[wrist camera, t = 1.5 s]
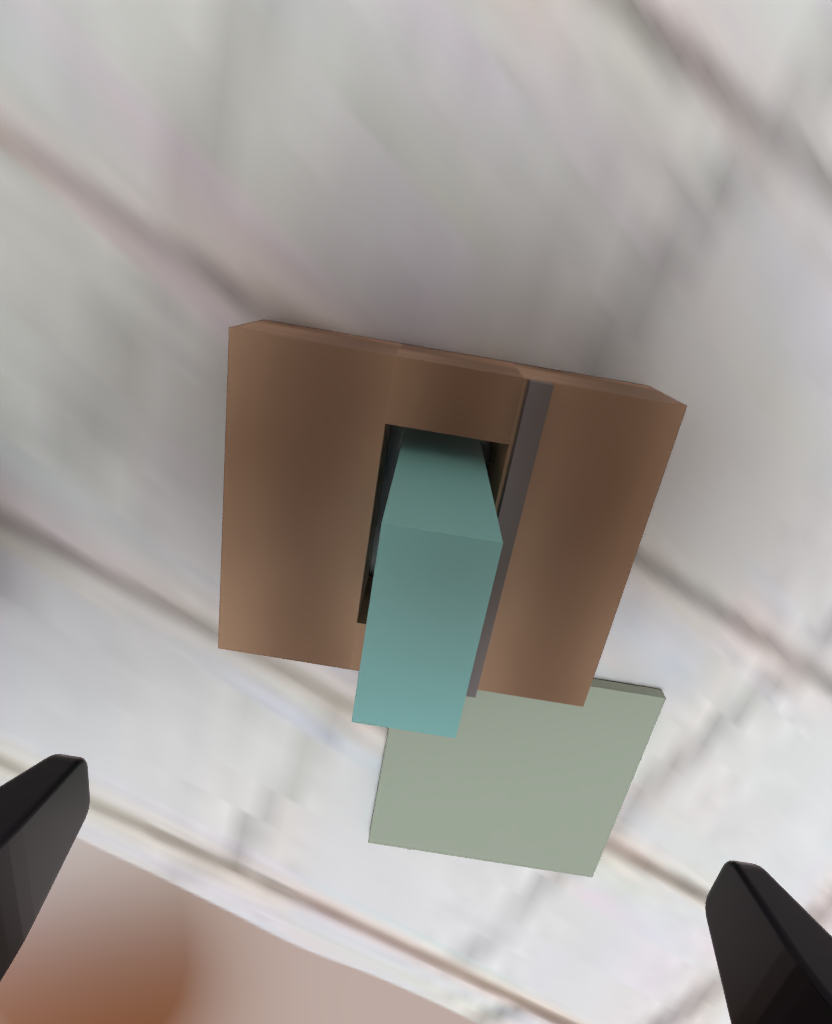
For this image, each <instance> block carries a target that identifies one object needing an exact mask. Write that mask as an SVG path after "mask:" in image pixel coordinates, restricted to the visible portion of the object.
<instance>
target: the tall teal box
mask: <svg viewBox="0 0 832 1024" xmlns="http://www.w3.org/2000/svg"><path fill="white" fill-rule="evenodd" d="M502 546H503V540H502V536H501V531H500V527H499V522H498V518H497V514H496V509H495V505H494V500H493V496H492V491H491V487H490V482H489V478H488V474H487V469H486V465H485V460H484V456H483V451H482V447H481V442H480V440H479V439H473V438H467V437H461V436H455V435H449V434H443V433H437V432H432V431H426V430H420V429H414V428H408V427H406V429H405V433H404V436H403V440H402V444H401V448H400V452H399V456H398V460H397V464H396V468H395V472H394V476H393V480H392V484H391V488H390V492H389V496H388V500H387V504H386V507H385V511H384V515H383V519H382V523H381V530H380V537H379V543H378V550H377V557H376V563H375V570H374V577H373V583H372V590H371V597H370V603H369V610H368V616H367V623H366V630H365V636H364V643H363V650H362V656H361V663H360V670H359V676H358V683H357V690H356V696H355V703H354V709H353V716H352V722H356V723H362V724H368V725H375V726H381V727H387V728H394V729H400V730H406V731H413V732H419V733H425V734H431V735H438V736H444V737H450V738H456V735H457V731H458V727H459V722H460V718H461V714H462V710H463V706H464V702H465V698H466V694H467V690H468V685H469V681H470V677H471V673H472V669H473V665H474V661H475V657H476V653H477V648H478V644H479V640H480V636H481V632H482V628H483V624H484V620H485V616H486V611H487V607H488V603H489V599H490V595H491V591H492V587H493V583H494V579H495V574H496V570H497V566H498V562H499V558H500V554H501V550H502Z"/></svg>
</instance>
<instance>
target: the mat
mask: <svg viewBox="0 0 832 1024" xmlns="http://www.w3.org/2000/svg"><path fill="white" fill-rule="evenodd" d="M665 699H666V698H665V696H664V694H663V692H662V690H661V689H654V688H648V687H642V686H636V685H630V684H623V683H617V682H611V681H605V680H599V679H593V680H592V683H591V686H590V689H589V692H588V695H587V698H586V701H585V704H584V707H581V706H575V705H568V704H562V703H556V702H550V701H544V700H537V699H531V698H525V697H519V696H512V695H506V694H500V693H494V692H488V691H481V690H477V693H476V697H475V698H474V697H467V696H466V698H465V702H464V706H463V710H462V714H461V718H460V722H459V727H458V731H457V735H456V738H450V737H444V736H438V735H431V734H425V733H419V732H413V731H406V730H400V729H394V728H389V729H388V734H387V740H386V745H385V751H384V756H383V761H382V767H381V772H380V778H379V783H378V789H377V794H376V800H375V805H374V811H373V816H372V821H371V827H370V832H369V840H368V843H374V844H381V845H387V846H394V847H400V848H407V849H413V850H420V851H426V852H432V853H439V854H445V855H452V856H458V857H465V858H471V859H478V860H484V861H491V862H497V863H503V864H510V865H516V866H523V867H529V868H536V869H542V870H549V871H555V872H561V873H568V874H574V875H581V876H587V877H593V874H594V872H595V869H596V867H597V865H598V862H599V860H600V857H601V855H602V852H603V850H604V848H605V845H606V843H607V840H608V838H609V835H610V833H611V831H612V828H613V826H614V823H615V821H616V818H617V816H618V814H619V811H620V809H621V806H622V804H623V801H624V799H625V797H626V794H627V792H628V789H629V787H630V784H631V782H632V780H633V777H634V775H635V772H636V770H637V767H638V765H639V763H640V760H641V758H642V755H643V753H644V750H645V748H646V745H647V743H648V741H649V738H650V736H651V733H652V731H653V728H654V726H655V724H656V721H657V719H658V716H659V714H660V711H661V709H662V707H663V704H664V702H665Z"/></svg>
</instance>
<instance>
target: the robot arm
mask: <svg viewBox="0 0 832 1024" xmlns="http://www.w3.org/2000/svg"><path fill="white" fill-rule="evenodd" d="M89 804H90V793H89V779H88V766H87V762H86V761H85V760H84V758H81V757H75V756H69V755H63V754H55V755H52V756H49V757H48V758H46V759H44V760H43V761H41V762H39V763H38V764H36V765H34V766H33V767H31V768H30V769H28V770H26V771H25V772H23V773H22V774H20V775H18V776H17V777H15V778H13V779H12V780H10V781H9V782H7V783H5V784H4V785H2V786H1V787H0V981H1V979H2V978H3V976H4V975H5V973H6V971H7V970H8V968H9V966H10V965H11V963H12V961H13V960H14V958H15V956H16V954H17V953H18V951H19V949H20V948H21V946H22V944H23V942H24V941H25V939H26V937H27V935H28V933H29V931H30V929H31V927H32V925H33V923H34V921H35V919H36V917H37V915H38V913H39V911H40V909H41V907H42V905H43V903H44V901H45V899H46V897H47V895H48V893H49V891H50V889H51V887H52V885H53V883H54V881H55V879H56V877H57V875H58V873H59V870H60V869H61V867H62V865H63V863H64V861H65V859H66V856H67V854H68V853H69V851H70V848H71V846H72V844H73V842H74V840H75V838H76V836H77V834H78V832H79V830H80V828H81V826H82V824H83V822H84V820H85V818H86V815H87V813H88V809H89ZM705 909H706V918H707V922H708V926H709V931H710V935H711V939H712V943H713V948H714V952H715V956H716V961H717V965H718V969H719V973H720V978H721V982H722V986H723V990H724V995H725V999H726V1003H727V1007H728V1012H729V1016H730V1020H731V1024H832V936H831V935H830V934H829V933H828V932H827V931H826V930H825V929H824V928H823V927H822V926H821V925H820V924H819V923H818V922H817V921H816V920H815V919H814V918H813V917H812V916H811V915H810V914H809V913H808V912H807V911H806V910H805V909H804V908H803V907H802V906H801V905H800V904H799V903H798V902H797V901H796V900H795V899H793V898H792V897H791V896H790V895H789V894H788V893H787V892H786V891H785V890H784V889H783V888H782V887H781V886H780V885H779V884H778V883H777V882H776V881H775V880H774V879H773V878H772V877H771V876H770V875H769V874H768V873H767V872H766V871H765V870H764V869H763V868H761V867H760V866H758V865H756V864H752V863H746V862H739V861H729V862H727V863H725V864H724V866H723V867H722V869H721V871H720V873H719V875H718V877H717V879H716V880H715V882H714V884H713V886H712V888H711V890H710V891H709V893H708V895H707V899H706V906H705Z"/></svg>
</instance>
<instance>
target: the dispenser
mask: <svg viewBox="0 0 832 1024" xmlns="http://www.w3.org/2000/svg"><path fill="white" fill-rule="evenodd" d="M686 408H687V406H686V405H684V404H682V403H680V402H679V401H677V400H675V399H673V398H671V397H669V396H667V395H665V394H663V393H661V392H659V391H658V390H656V389H654V388H652V387H650V386H646V385H640V384H635V383H629V382H623V381H617V380H611V379H605V378H600V377H594V376H588V375H582V374H576V373H571V372H565V371H559V370H553V369H547V368H541V367H536V366H530V365H524V364H518V363H512V362H507V361H501V360H495V359H489V358H483V357H478V356H472V355H466V354H460V353H454V352H448V351H443V350H437V349H431V348H425V347H419V346H414V345H408V344H402V343H396V342H390V341H384V340H379V339H373V338H367V337H361V336H355V335H350V334H344V333H338V332H332V331H326V330H320V329H315V328H309V327H303V326H297V325H291V324H286V323H280V322H274V321H268V320H260V321H255V322H251V323H246V324H242V325H238V326H233V327H229V347H228V376H227V405H226V434H225V464H224V493H223V522H222V552H221V581H220V610H219V639H218V648H220V649H226V650H233V651H239V652H245V653H251V654H257V655H264V656H270V657H276V658H282V659H289V660H295V661H301V662H307V663H313V664H320V665H326V666H332V667H338V668H345V669H351V670H357V671H359V670H360V663H361V656H362V650H363V643H364V636H365V630H366V623H367V616H368V610H369V603H370V597H371V590H372V583H373V577H368V576H369V569H370V563H371V556H372V549H373V542H374V535H375V528H376V522H377V515H378V508H379V501H380V494H381V488H382V481H383V474H384V467H385V460H386V454H387V447H388V440H389V433H390V426H391V425H396V426H402V427H408V428H414V429H420V430H426V431H432V432H437V433H443V434H449V435H455V436H461V437H467V438H473V439H479V440H485V441H491V442H494V446H493V450H492V455H491V459H490V464H489V469H488V473H487V474H488V478H489V482H490V487H491V491H492V496H493V500H494V505H495V509H496V514H497V518H498V522H499V527H500V531H501V536H502V540H503V546H502V550H501V554H500V558H499V562H498V566H497V570H496V574H495V579H494V583H493V587H492V591H491V595H490V599H489V603H488V607H487V611H486V616H485V620H484V624H483V628H482V632H481V636H480V640H479V644H478V648H477V653H476V657H475V661H474V665H473V669H472V673H471V677H470V681H469V685H468V690H467V694H466V696H467V697H474V698H475V697H476V693H477V690H481V691H488V692H494V693H500V694H506V695H512V696H519V697H525V698H531V699H537V700H544V701H550V702H556V703H562V704H568V705H575V706H581V707H584V704H585V701H586V698H587V695H588V692H589V689H590V686H591V683H592V680H593V678H594V675H595V672H596V669H597V666H598V663H599V660H600V657H601V654H602V651H603V649H604V646H605V643H606V640H607V637H608V634H609V631H610V628H611V625H612V622H613V619H614V617H615V614H616V611H617V608H618V605H619V602H620V599H621V596H622V593H623V590H624V588H625V585H626V582H627V579H628V576H629V573H630V570H631V567H632V564H633V561H634V559H635V556H636V553H637V550H638V547H639V544H640V541H641V538H642V535H643V532H644V530H645V527H646V524H647V521H648V518H649V515H650V512H651V509H652V506H653V503H654V501H655V498H656V495H657V492H658V489H659V486H660V483H661V480H662V477H663V474H664V472H665V469H666V466H667V463H668V460H669V457H670V454H671V451H672V448H673V445H674V443H675V440H676V437H677V434H678V431H679V428H680V425H681V422H682V419H683V416H684V414H685V411H686Z"/></svg>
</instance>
